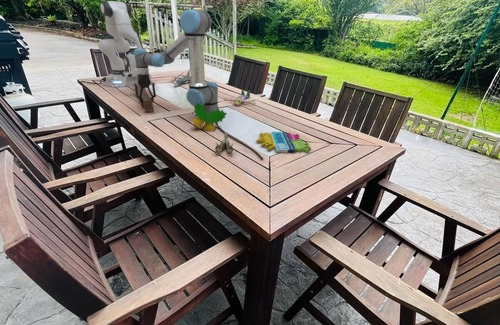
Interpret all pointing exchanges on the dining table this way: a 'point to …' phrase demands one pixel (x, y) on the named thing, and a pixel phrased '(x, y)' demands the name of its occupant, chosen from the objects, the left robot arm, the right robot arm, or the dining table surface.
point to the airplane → (182, 79)
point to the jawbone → (224, 145)
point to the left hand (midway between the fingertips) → (139, 91)
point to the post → (146, 100)
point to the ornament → (207, 117)
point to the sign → (283, 142)
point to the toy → (241, 99)
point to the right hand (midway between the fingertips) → (147, 107)
